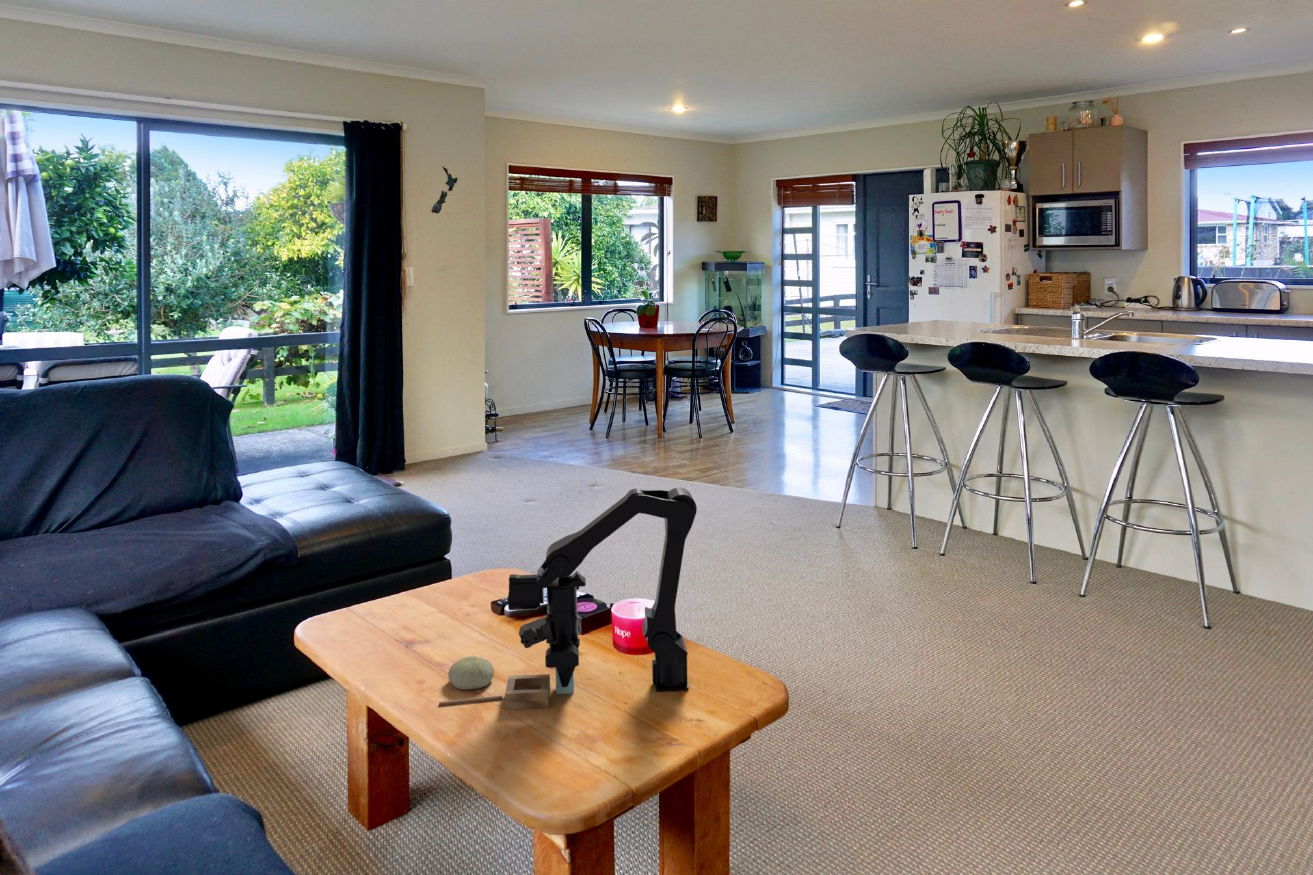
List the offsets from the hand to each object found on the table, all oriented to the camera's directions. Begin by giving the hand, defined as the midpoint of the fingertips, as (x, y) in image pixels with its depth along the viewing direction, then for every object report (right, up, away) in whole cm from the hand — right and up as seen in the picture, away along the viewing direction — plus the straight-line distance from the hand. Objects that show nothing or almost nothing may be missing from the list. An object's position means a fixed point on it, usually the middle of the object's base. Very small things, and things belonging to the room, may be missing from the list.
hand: (565, 682), depth 185 cm
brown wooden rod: (-18, -3, -4) cm, 18 cm away
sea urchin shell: (-19, -1, +5) cm, 20 cm away
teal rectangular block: (0, -2, 0) cm, 2 cm away
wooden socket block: (-7, -2, -4) cm, 8 cm away
